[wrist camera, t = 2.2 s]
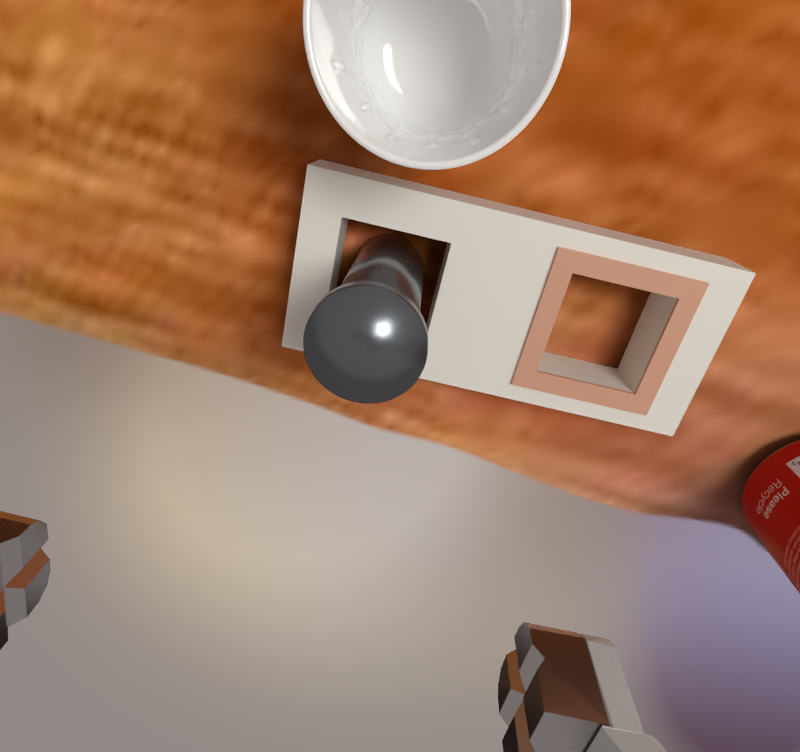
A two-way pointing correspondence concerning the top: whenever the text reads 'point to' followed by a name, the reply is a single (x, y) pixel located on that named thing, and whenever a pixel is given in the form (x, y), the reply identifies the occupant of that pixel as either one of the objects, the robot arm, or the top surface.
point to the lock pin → (371, 325)
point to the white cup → (434, 72)
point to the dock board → (526, 296)
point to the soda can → (777, 507)
